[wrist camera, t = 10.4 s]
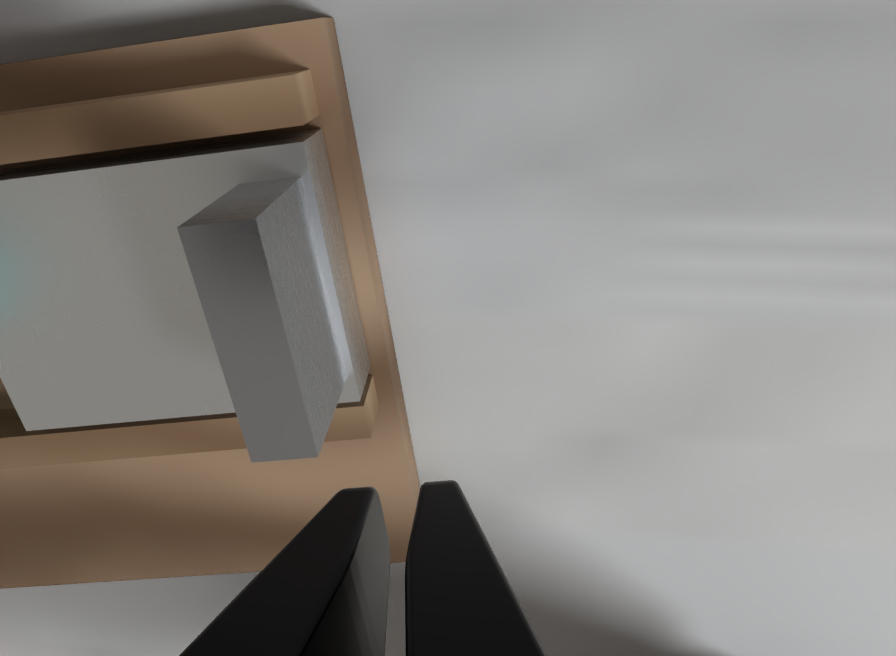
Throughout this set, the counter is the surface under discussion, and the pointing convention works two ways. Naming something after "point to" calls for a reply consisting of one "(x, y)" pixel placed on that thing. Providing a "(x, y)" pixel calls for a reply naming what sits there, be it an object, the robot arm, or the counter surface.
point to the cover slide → (182, 291)
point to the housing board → (207, 436)
